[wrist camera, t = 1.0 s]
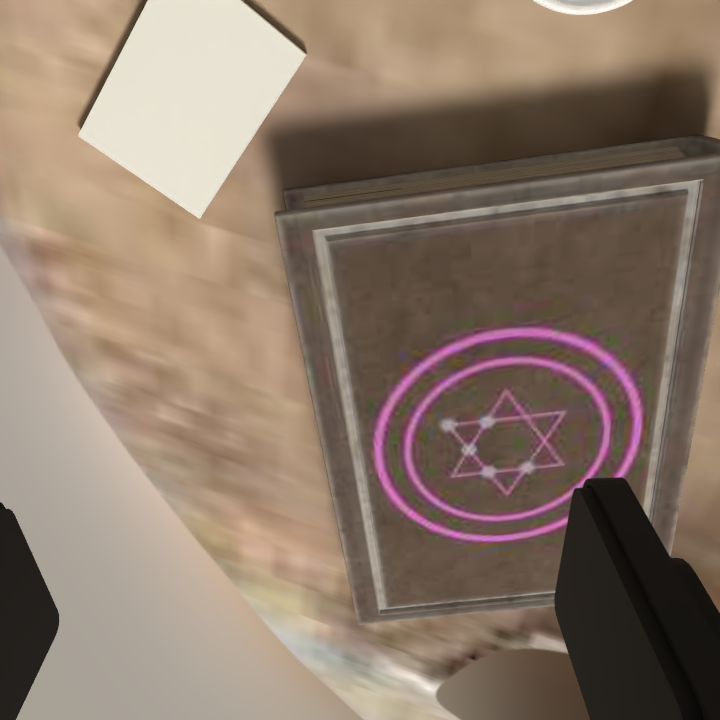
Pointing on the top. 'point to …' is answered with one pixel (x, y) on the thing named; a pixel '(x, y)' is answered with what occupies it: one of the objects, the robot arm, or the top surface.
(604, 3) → the ramekin
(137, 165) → the mat
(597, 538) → the robot arm
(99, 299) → the top surface
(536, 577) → the book
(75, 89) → the top surface
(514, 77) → the top surface
